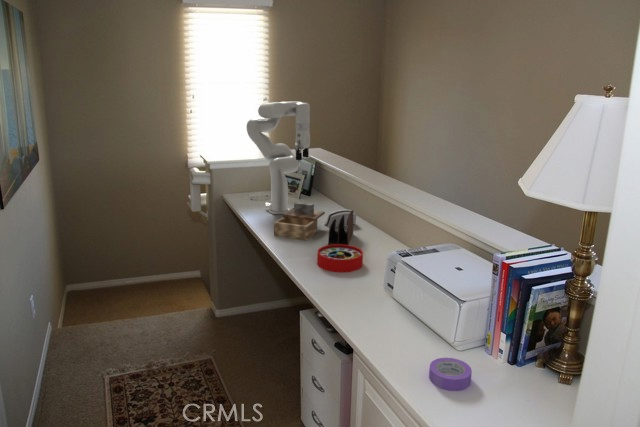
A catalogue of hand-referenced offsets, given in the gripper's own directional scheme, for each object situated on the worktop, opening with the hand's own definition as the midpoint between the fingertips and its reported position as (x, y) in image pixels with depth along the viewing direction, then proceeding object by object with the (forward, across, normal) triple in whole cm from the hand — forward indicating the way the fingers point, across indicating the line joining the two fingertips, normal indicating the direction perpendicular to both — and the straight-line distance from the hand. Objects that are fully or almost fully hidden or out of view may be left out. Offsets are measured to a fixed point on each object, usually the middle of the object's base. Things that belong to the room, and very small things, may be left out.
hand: (302, 158), depth 301 cm
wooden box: (+34, -25, -7) cm, 43 cm away
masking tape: (+35, -130, -99) cm, 167 cm away
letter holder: (+35, -24, -31) cm, 52 cm away
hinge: (+35, -1, -23) cm, 42 cm away
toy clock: (+35, -56, -41) cm, 78 cm away
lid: (+27, -14, -7) cm, 31 cm away
